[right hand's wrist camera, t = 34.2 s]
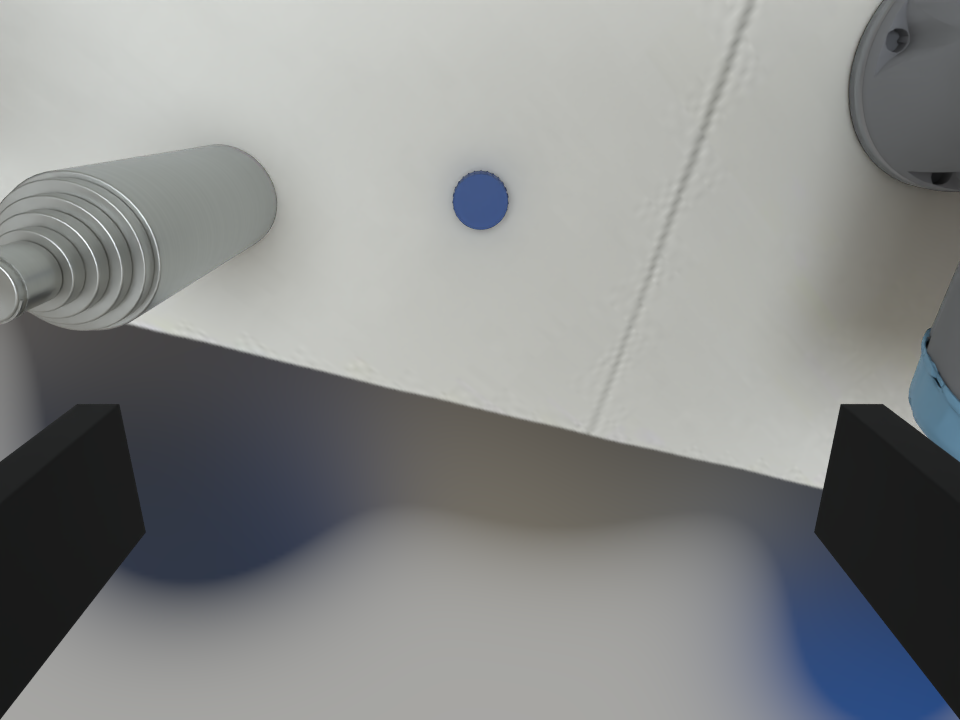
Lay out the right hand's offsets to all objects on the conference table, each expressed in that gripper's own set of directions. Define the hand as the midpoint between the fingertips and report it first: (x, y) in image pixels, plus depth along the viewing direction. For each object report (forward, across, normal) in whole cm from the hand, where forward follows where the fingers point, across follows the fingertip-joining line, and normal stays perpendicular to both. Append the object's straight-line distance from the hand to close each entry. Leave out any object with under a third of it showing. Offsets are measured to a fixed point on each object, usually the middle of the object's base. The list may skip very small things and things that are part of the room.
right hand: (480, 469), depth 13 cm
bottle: (+38, +18, 0) cm, 42 cm away
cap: (+36, 0, 0) cm, 36 cm away
